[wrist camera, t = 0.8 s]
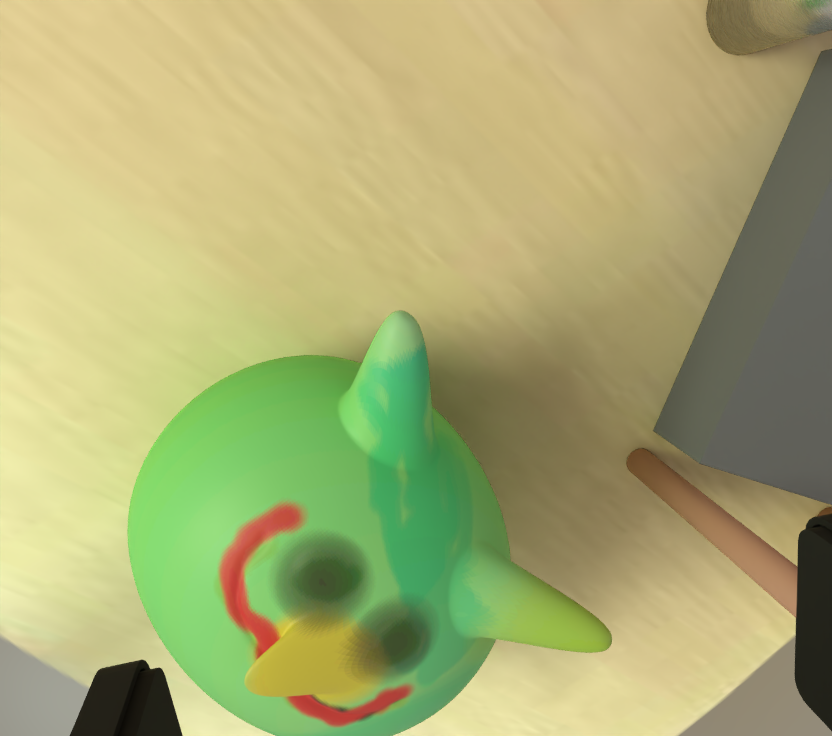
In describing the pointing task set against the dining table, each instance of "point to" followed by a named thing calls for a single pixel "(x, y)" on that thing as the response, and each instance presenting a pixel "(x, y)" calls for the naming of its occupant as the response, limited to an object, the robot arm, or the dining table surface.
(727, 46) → the metal peg
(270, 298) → the dining table surface
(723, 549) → the canopy
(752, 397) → the socket plate
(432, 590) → the toy bird
